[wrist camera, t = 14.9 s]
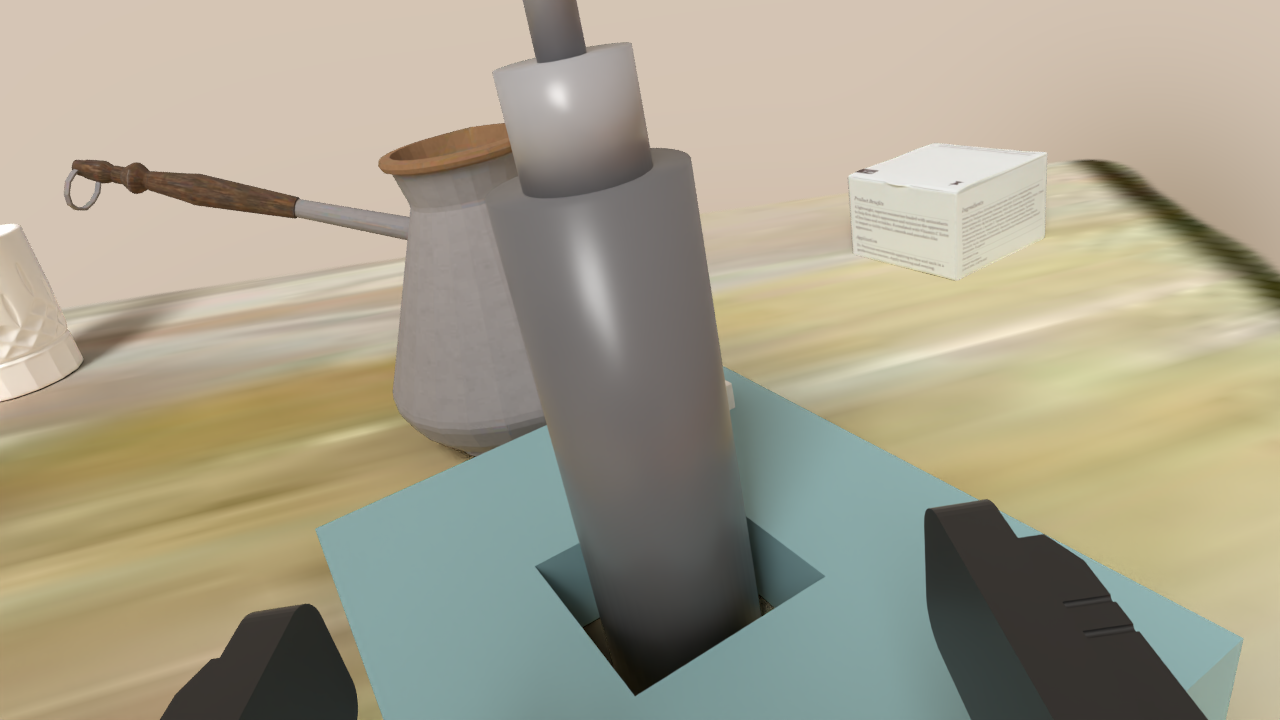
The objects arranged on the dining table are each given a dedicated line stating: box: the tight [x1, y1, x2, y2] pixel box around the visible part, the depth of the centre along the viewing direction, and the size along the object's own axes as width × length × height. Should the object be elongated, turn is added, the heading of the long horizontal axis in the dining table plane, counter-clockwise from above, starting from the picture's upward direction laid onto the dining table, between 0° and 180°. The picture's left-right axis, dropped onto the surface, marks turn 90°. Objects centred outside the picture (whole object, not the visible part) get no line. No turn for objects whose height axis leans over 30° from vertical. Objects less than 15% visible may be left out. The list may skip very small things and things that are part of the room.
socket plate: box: [315, 366, 1243, 720], centre depth 22 cm, size 20×16×4 cm
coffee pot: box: [64, 123, 547, 456], centre depth 34 cm, size 21×12×15 cm, turn 93°
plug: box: [485, 0, 761, 696], centre depth 18 cm, size 4×4×19 cm
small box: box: [848, 143, 1048, 281], centre depth 45 cm, size 8×8×5 cm
